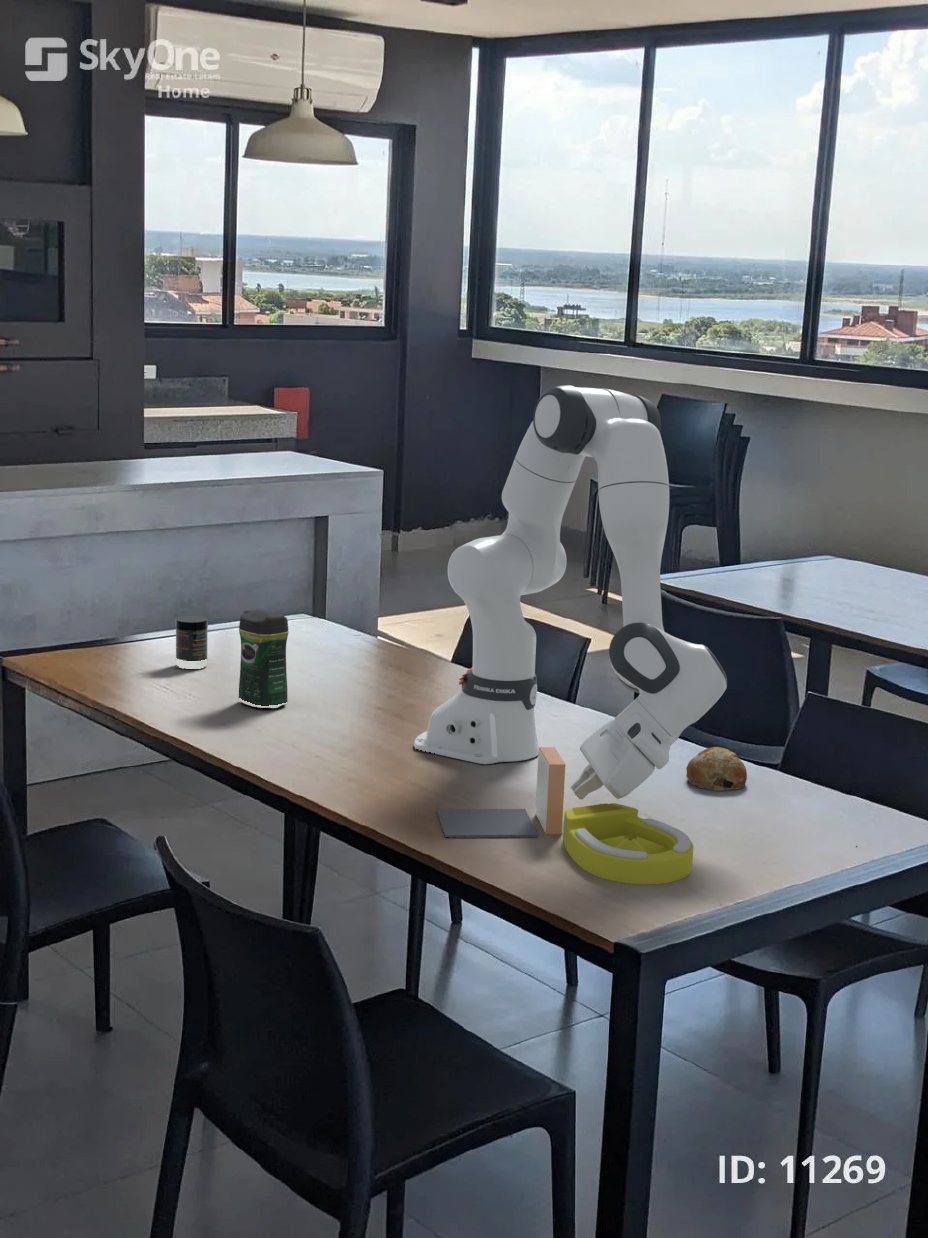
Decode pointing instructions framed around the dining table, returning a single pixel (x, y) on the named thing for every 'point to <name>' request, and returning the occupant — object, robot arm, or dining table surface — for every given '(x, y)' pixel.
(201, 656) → the supplement container
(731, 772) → the bread roll
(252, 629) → the coffee jar
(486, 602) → the robot arm
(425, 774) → the dining table surface
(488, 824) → the rubber mat
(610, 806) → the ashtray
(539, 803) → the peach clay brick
